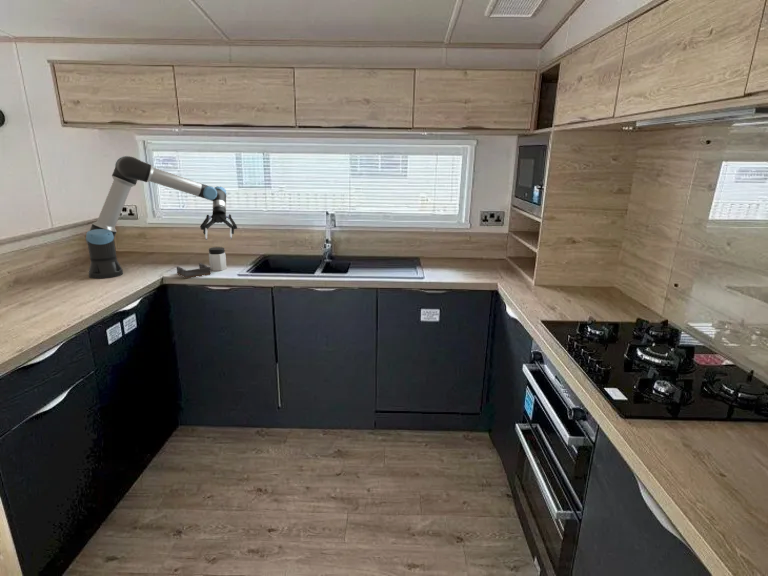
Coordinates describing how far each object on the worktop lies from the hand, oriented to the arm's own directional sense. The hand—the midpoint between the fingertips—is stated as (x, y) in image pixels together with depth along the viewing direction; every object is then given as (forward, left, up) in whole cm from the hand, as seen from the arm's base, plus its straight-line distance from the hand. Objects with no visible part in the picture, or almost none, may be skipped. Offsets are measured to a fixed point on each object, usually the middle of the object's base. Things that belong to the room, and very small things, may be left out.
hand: (218, 238), depth 249 cm
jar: (+9, -5, -16) cm, 19 cm away
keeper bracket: (+12, -20, -16) cm, 28 cm away
